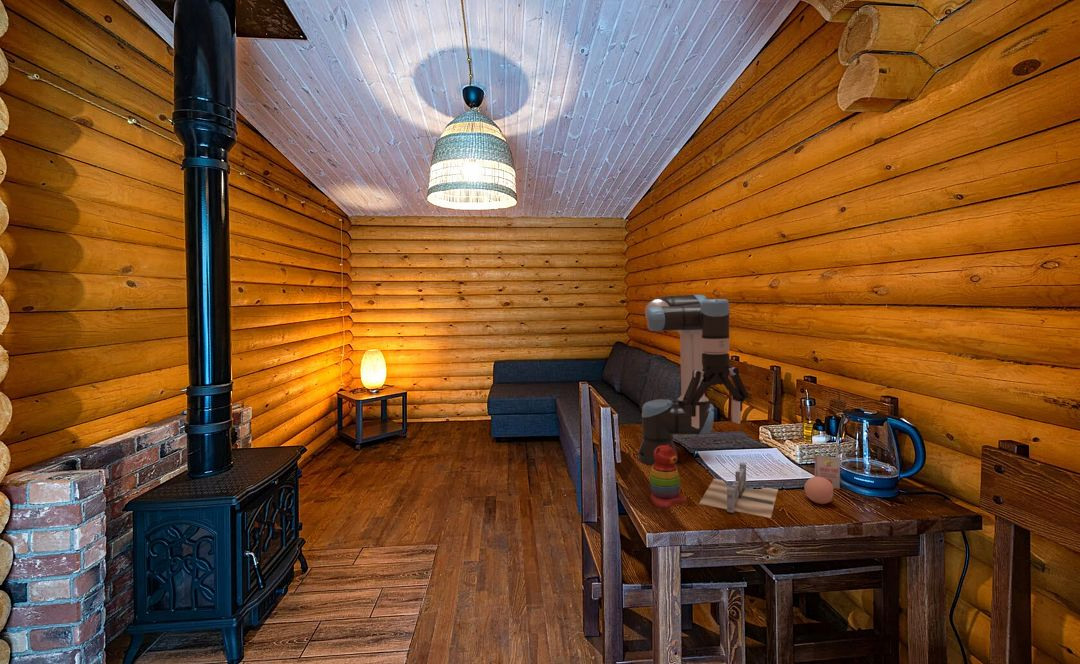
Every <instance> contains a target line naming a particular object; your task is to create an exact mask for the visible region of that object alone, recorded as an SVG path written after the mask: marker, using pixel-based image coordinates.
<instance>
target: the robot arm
mask: <svg viewBox="0 0 1080 664" xmlns="http://www.w3.org/2000/svg"><path fill="white" fill-rule="evenodd" d="M730 313H731V309H730V302H729V300H728V299H726V298H720V299H719V298H715V299H714V298H712V299H708V298H707V296H706V295H704V294H683V295H682V294H681V295H679V294H678V295H665V296H659V297H657V298H654V299H652V300H650V301H649V302H648V303H647V304H646V306H645V308H644V316H645V318H646V320H647V321H646V322H647V329H648V330H649V331H651V332H653V331H654V332H665V331H666V332H668V331H676V332H677V333H679V342H680V343H679V345H680V346H679V347H680V348H679V349H680V351H679V352H680V381H681V383H680V384H681V385H680V386H681V387H680V388H681V389H680V390H681V391H680V392H681V394H680V396H679V397H678V398H677V403H673V400H671V399H665V398H663V399H662V398H661V399H653V400H649V401H647V402H644V403H643V405H642V407H641V409H642V410H641V418H642V419H641V421H642V422H641V423H642V425H641V426H642V433H641V434H642V440H641V443H640V447H639V450H638V454H637V455H638V460H639V461H640V462H641V463H643V464H646V465H648V466H649V465H650V466H653V464H654V463H655V462H656V461H655V459H654V450H655V449H656V448H657V447H658V446H661V445H667V444H670V445H671V448H673V450H674V451H675V453H676V454H677V460H676V462H675V464H677V463H678V462H679V461H678V459H679V458H678V457H679V456H678V455H679V454H678V452H677V449H676V445H675V444H674V439H673V438H674V437H673V436H674V435H697V436H698V435H708V434H710V433H711V432H712V429H713V428H714V427H713V426H714V421H715V412H714V411H715V407H714V405H713V404H712V403H710V400H709V398H708V397H707V396H706V395H705V393H706V391H707V390H708V389H709V388H710V387H712V386H717V385H720V386H721V385H722V386H724V387H725V388H726V391H728V392H729V393H730V395H731V397H733V399H732V400H731V422H732V423H735V424H738V425H739V424H741V412H742V411H743V402H745V401H746V399H748V398H749V394H748V392H747V389H746V387H745V385H744V382H743V381H742V379H741V376H740V372H739V371H740V370H739V368H738V367H734V366H733V367H732V366H731V367H729V366H730V365H731V364H730V360H731V359H730V357H731V356H730V354H729V353H728V352H730ZM729 375H730V377H731V380H732V381H731V380H730V379H729V378H728V377H729ZM732 383H733V384H732Z"/></svg>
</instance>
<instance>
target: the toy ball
mask: <svg viewBox="0 0 1080 664" xmlns="http://www.w3.org/2000/svg"><path fill="white" fill-rule="evenodd" d="M834 490H835V489H834V488H833V485H832V484H831V482H829V481H828V480H827V479H825V478H823V477H815V476H812V477H810V478H809V479H807V480H806V481H805V484H804V493H805V495H806V496H807V498H808V499H810V501H811V502H813V503H816V504H819V505H825V504H828V503H831V501H832V500H833V496H834Z"/></svg>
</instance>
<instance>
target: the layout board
mask: <svg viewBox="0 0 1080 664" xmlns="http://www.w3.org/2000/svg"><path fill="white" fill-rule="evenodd" d="M723 480H724V479H720V478H719V479H718V478H713V480H712V481H711V483H710V484H709V486H708V488H707V489H706V491H705V493H704V494H703V495H702V498H701V499H700V501H699V503H698V504H699V505H703V506H709V507H714V508H718V509H724V510H727V488H728V487H732V486H729V485H727V484H726V483H725V482H724V481H723ZM778 491H779V489H778V488H771V487H767V488H762V489H745V488H743V490H742V492H741V493H740V497H738V501H736V504H735V511H734V512H739V513H743V514H749V515H754V516H758V517H764V518H769V519H772V515H773V512H774V506H775V504H776V499H777V495H778Z"/></svg>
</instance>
